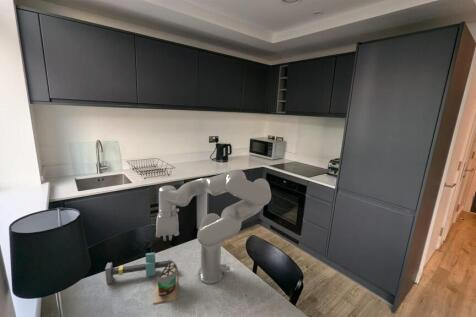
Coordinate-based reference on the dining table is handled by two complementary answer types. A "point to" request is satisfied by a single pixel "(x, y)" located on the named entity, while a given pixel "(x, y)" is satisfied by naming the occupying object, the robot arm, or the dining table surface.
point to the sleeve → (150, 264)
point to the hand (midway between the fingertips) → (167, 246)
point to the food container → (167, 279)
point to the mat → (165, 298)
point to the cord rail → (128, 269)
